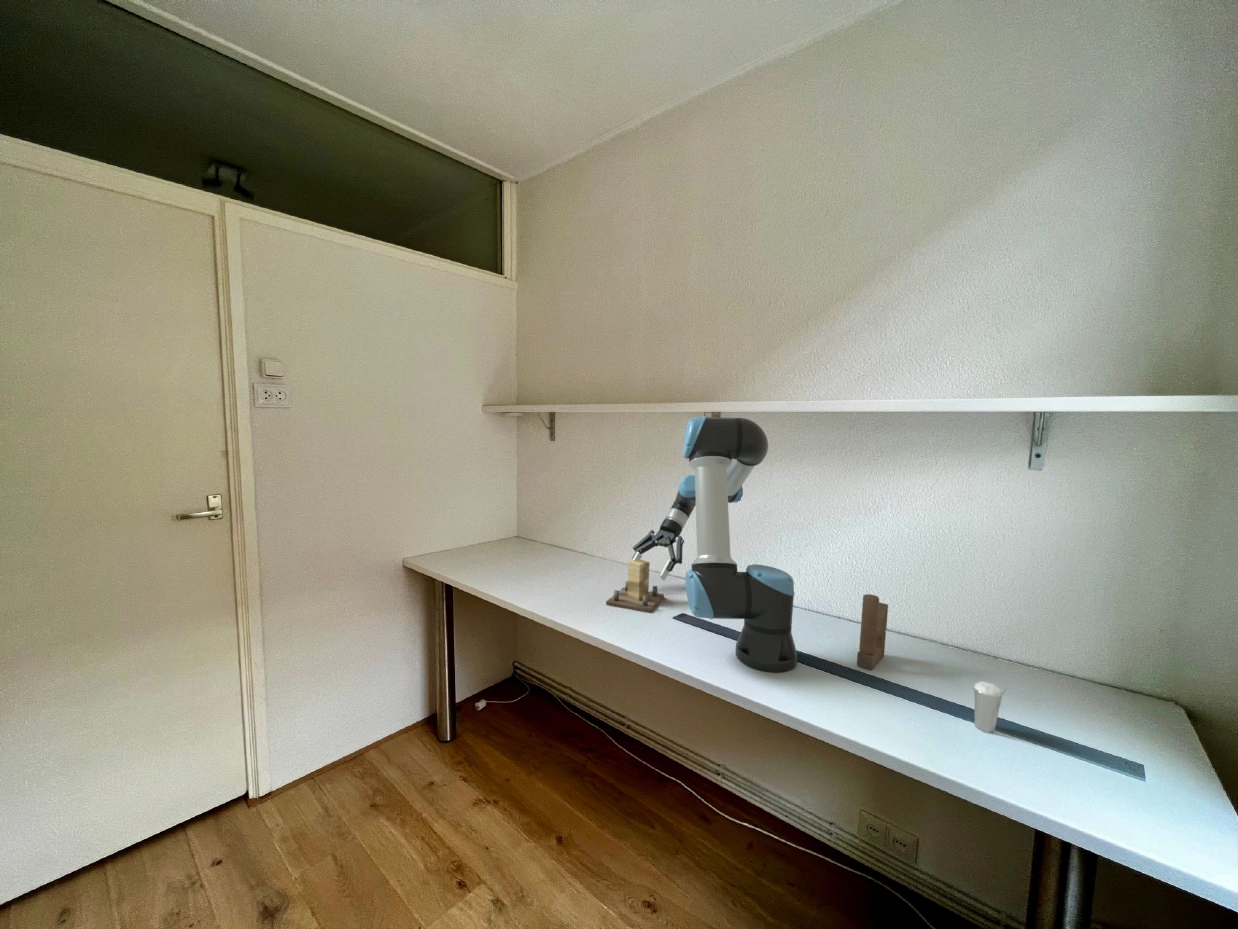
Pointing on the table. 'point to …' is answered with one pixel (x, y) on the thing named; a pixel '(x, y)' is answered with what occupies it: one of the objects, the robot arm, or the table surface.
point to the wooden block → (872, 632)
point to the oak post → (638, 579)
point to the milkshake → (987, 705)
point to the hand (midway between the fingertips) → (646, 573)
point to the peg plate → (642, 605)
